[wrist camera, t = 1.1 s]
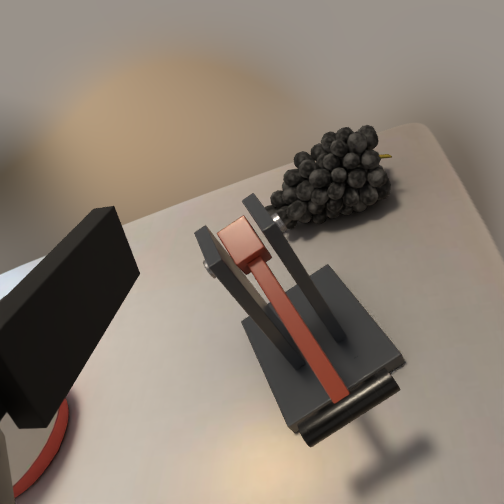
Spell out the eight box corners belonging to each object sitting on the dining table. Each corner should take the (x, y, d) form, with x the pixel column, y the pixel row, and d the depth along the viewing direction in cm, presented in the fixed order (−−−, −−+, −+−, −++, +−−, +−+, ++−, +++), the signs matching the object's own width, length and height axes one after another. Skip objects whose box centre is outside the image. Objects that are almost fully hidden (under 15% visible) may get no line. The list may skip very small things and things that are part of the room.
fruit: (231, 186, 43) (378, 119, 38) (246, 163, 50) (371, 104, 45) (270, 257, 46) (410, 204, 41) (278, 226, 53) (399, 177, 48)
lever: (399, 390, 25) (401, 389, 23) (313, 445, 25) (307, 449, 23) (274, 213, 31) (267, 198, 29) (205, 259, 31) (192, 248, 29)
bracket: (405, 362, 32) (339, 230, 23) (294, 433, 33) (186, 331, 24) (332, 271, 42) (264, 152, 33) (247, 328, 42) (156, 226, 33)
